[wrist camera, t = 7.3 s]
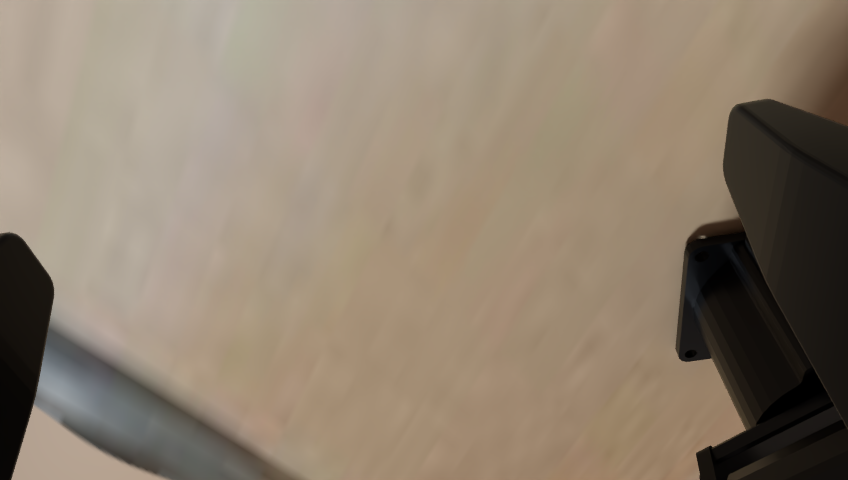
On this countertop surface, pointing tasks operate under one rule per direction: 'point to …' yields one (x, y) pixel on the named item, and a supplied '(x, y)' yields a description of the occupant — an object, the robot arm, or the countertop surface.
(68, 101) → the countertop surface
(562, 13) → the countertop surface
